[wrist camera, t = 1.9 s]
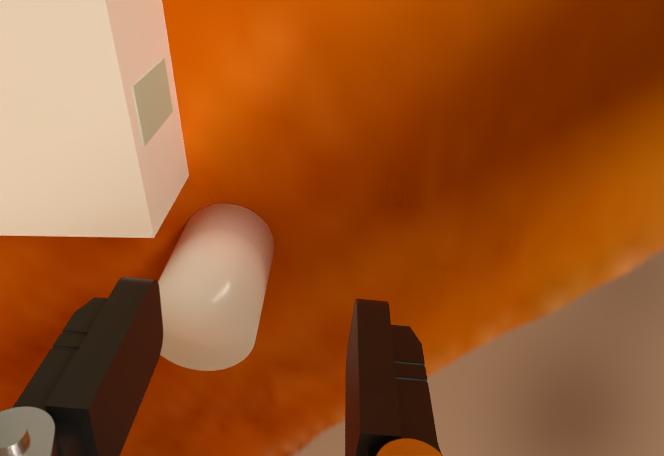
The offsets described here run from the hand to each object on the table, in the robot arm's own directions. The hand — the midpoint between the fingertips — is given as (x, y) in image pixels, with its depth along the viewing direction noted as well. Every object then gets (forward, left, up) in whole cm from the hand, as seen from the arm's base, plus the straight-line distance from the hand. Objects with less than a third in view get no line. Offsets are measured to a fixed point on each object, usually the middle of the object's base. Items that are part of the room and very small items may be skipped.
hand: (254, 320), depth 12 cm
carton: (+10, 0, -16) cm, 18 cm away
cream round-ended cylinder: (+4, +8, -15) cm, 18 cm away
